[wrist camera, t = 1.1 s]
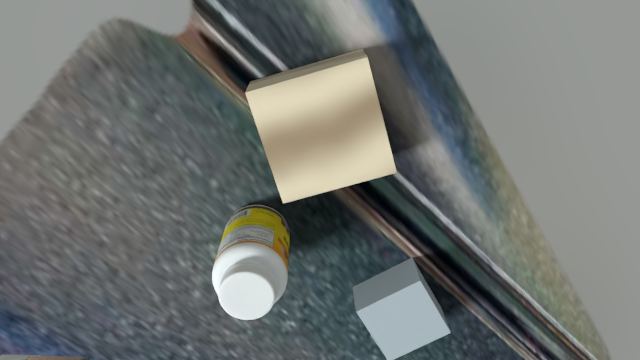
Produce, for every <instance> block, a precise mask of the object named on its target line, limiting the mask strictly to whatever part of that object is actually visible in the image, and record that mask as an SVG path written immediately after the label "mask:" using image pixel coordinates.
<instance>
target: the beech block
mask: <svg viewBox="0 0 640 360" xmlns="http://www.w3.org/2000/svg"><path fill="white" fill-rule="evenodd" d="M245 93H246V96H247V99H248V102H249V105H250V108H251V111H252V114H253V117H254V120H255V123H256V126H257V129H258V132H259V135H260V138H261V140H262V143H263V146H264V149H265V152H266V155H267V158H268V161H269V164H270V167H271V170H272V173H273V176H274V179H275V182H276V184H277V187H278V190H279V193H280V196H281V199H282V202H283V204H284V203H287V202H291V201H295V200H298V199H302V198H306V197H309V196H313V195H317V194H320V193H324V192H328V191H331V190H335V189H339V188H342V187H346V186H350V185H353V184H357V183H361V182H364V181H368V180H372V179H375V178H379V177H383V176H386V175H390V174H394V173H397V171H396V167H395V163H394V159H393V156H392V152H391V148H390V144H389V140H388V136H387V132H386V128H385V124H384V120H383V116H382V112H381V108H380V104H379V100H378V96H377V92H376V88H375V84H374V80H373V76H372V73H371V69H370V65H369V61H368V57H367V55H366V54H365V52H364V51H363V49H360V50H356V51H353V52H349V53H346V54H343V55H339V56H336V57H332V58H329V59H325V60H322V61H319V62H315V63H312V64H308V65H305V66H302V67H298V68H295V69H291V70H288V71H285V72H281V73H278V74H274V75H271V76H267V77H264V78H261V79H257V80H254V81H251V82H250V84H249V86H248V88H247V90H246V92H245Z"/></svg>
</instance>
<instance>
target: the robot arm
mask: <svg viewBox="0 0 640 360" xmlns="http://www.w3.org/2000/svg"><path fill="white" fill-rule="evenodd" d="M0 360H91V359H90V357H62V356H33V355H1V356H0Z"/></svg>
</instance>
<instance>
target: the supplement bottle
mask: <svg viewBox="0 0 640 360" xmlns="http://www.w3.org/2000/svg"><path fill="white" fill-rule="evenodd" d="M289 243H290V232H289V227H288V224H287V222H286V220H285V219H284V217H283V216H282V215H281V214H280V213H279V212H277V211H276V210H274V209H273V208H270V207H268V206H264V205H249V206H246V207H243V208H241V209H239V210H238V211H236V212H235V213H234V214H233V215H232V216H231V217H230V219H229V221H228V223H227V225H226V228H225V231H224V234H223V237H222V240H221V243H220V247H219V250H218V253H217V256H216V260H215V263H214V267H213V271H212V282H213V286H214V288H215V291H216V292H217V294H218V297H219V301H220V304H221V306H222V307H223V309H224V310H225V311H226V312H227V313H228V314H230V315H231V316H233V317H235V318H238V319H242V320H253V319H257V318H260V317H262V316H264V315H265V314H266V313H268V312H269V311H270V309H271V308H272V306H273V304H274V303H275V302H276V301H278V300H279V298H280V297H281V296H282V294H283V293H284V291H285V288H286V285H287V279H288V262H289Z"/></svg>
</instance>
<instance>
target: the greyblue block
mask: <svg viewBox="0 0 640 360" xmlns="http://www.w3.org/2000/svg"><path fill="white" fill-rule="evenodd" d="M353 293H354V300H355V307H356V312H357V314H358V315H359V317H360V318H361V320H362V322H363V323H364V325H365V326H366V328H367V329H368V331H369V332H370V334H371V335H372V337H373V338H374V340H375V342H376V343H377V345H378V346H379V348H380V349H381V351H382V352H383V354H384V355H385V357H386V358H387V360H394V359H396V358H398V357H400V356H402V355H404V354H406V353H409V352H411V351H413V350H415V349H417V348H419V347H421V346H424V345H426V344H428V343H430V342H432V341H434V340H436V339H438V338H441V337H443V336H445V335H447V334H449V333H451V332H450V329H449V327H448V324H447V321H446V319H445V316H444V314H443V311H442V309H441V306H440V305H439V303H438V301H437V300H436V298H435V296H434V294H433V293H432V291H431V289H430V287H429V286H428V284H427V282H426V281H425V279H424V277H423V275H422V274H421V272H420V270H419V269H418V267H417V265H416V263H415V262H414V260H413V258H410V259H408V260H406V261H404V262H402V263H400V264H398V265H396V266H394V267H392V268H390V269H388V270H386V271H384V272H382V273H380V274H378V275H376V276H374V277H372V278H370V279H368V280H366V281H364V282H362V283H360V284H358V285H356V286H354V287H353Z"/></svg>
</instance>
